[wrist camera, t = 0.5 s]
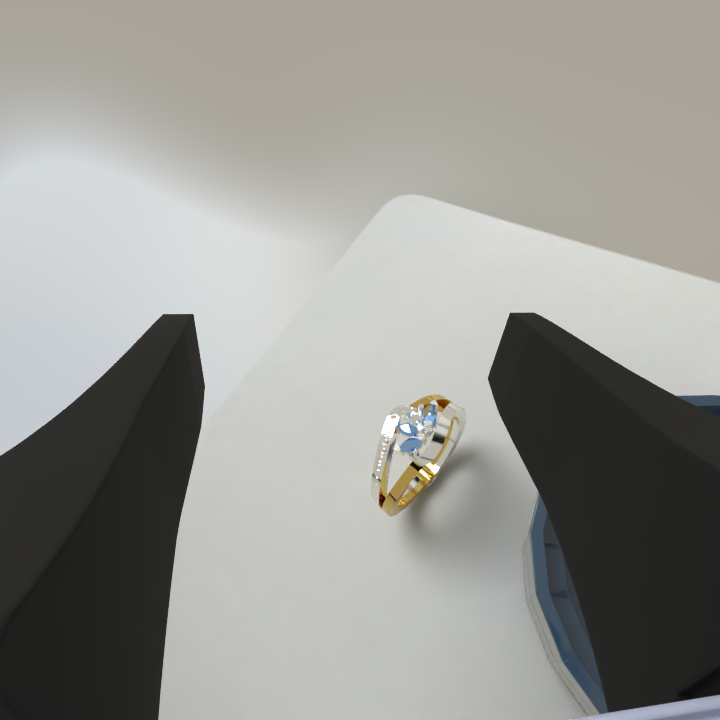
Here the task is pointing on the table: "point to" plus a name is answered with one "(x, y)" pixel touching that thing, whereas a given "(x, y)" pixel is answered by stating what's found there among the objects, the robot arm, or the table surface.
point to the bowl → (567, 600)
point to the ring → (415, 449)
